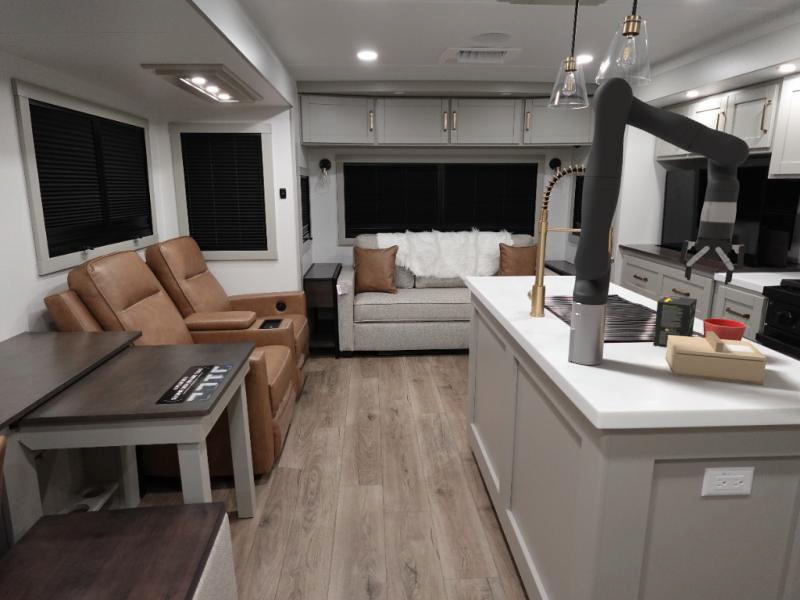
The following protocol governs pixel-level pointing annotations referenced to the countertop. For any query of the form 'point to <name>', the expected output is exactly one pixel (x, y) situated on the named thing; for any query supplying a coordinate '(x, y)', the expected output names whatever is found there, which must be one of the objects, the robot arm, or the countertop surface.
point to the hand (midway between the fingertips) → (707, 282)
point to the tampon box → (674, 318)
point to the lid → (715, 347)
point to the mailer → (715, 367)
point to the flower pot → (724, 328)
